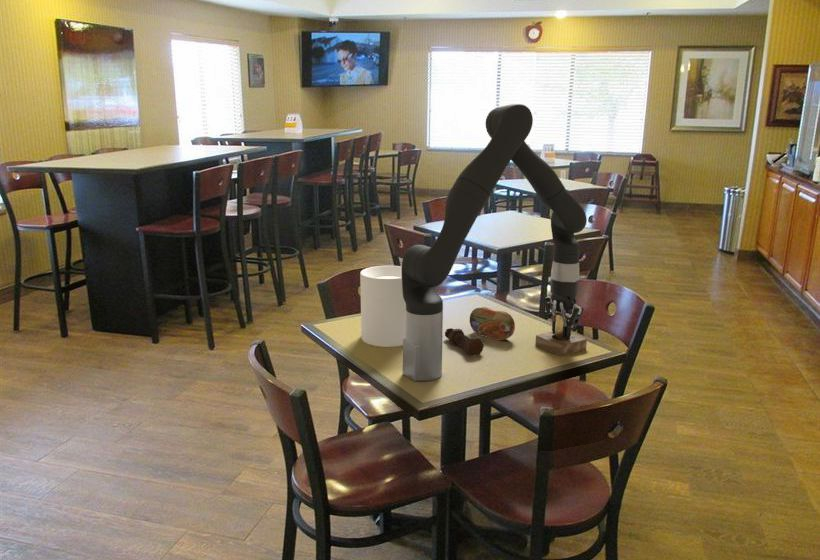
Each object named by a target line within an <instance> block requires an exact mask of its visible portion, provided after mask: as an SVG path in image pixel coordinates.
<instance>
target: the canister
mask: <svg viewBox="0 0 820 560" xmlns="http://www.w3.org/2000/svg"><path fill="white" fill-rule="evenodd" d="M359 276H360V277H359V280H360V281H359V283H360V326H361V327H360V328H361V331H360V332H361V333H360V334H361V335H360V336H361V340H362V342H364V343H365V344H367V345H371V346H375V347H381V348H382V347H383V348H384V347H386V348H389V347H390V348H391V347H395V348H396V347H401V346H402V347H403V339H404V338H406V303H405V301H404V298H403V292H402V265H401V266H399V265H377V266H370V267H366V268H364V269H362V270H361V271H360V273H359Z"/></svg>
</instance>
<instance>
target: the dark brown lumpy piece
mask: <svg viewBox="0 0 820 560" xmlns="http://www.w3.org/2000/svg"><path fill="white" fill-rule="evenodd" d="M444 336H445V337H446V338H447V339H448V340H449V343H450V344H451V345H453V346H457V345H458V346H460V347H462V348H463V349H464V351H465V353H466V354H467V355H468V356H469V357H475V356H474V355H476V356H480V354H482V352H483V350H484V346H485V345H484V344H485V343H484V342H483V341H482V339H481V337H479V336H473V337H469V336H467V335H465V333H464V331H462V329H461V328H450V327H449V328H447V329H445V332H444Z"/></svg>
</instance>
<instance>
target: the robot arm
mask: <svg viewBox="0 0 820 560" xmlns="http://www.w3.org/2000/svg"><path fill="white" fill-rule="evenodd" d="M533 121H534V119H533V114H532V112H531V109H530V108H529V107H528V106H527V105H526V104H525V105H524V104H522V103H510V104H507V105H503V106H498V107H495V108H493V109H491V110H490V111H489V113H488V114H487V116H486V118H485V128H486V133H487V135H488V136H489V137H490V140H489V142H488V143H487V145H486V147H484V148H483V150H482V151H481V152H480V153H479V154H478V155H476V156H475V158H474V159H473V160H472V161H470V162H469V164H467V166H465V167H464V169H462V171H461V172H460V173H459V175H458V176H457V178H456V179H455V182H454V183H453V185H452V187H451V188H450V190H449V192H448V194H447V197H446V200H445V207H444V208H445V209H444V219H443V226H442V227H441V230H440V232H439V234H438V236H437V238H436V239H435V241H434V243H433V244H432V245H431V246H428V245H424V244H415V245H411V246H410V247H409V248H408V249H407V250H406V251H405V253H404V255H403V258H402V262H401V267H402V292H403V298H404V301H405V303H406V338H404V339H403V345H402V375H404V376H406V377H407V378H409V379H411V380H412V381H413V382H417V381H419V382H420V381H421V382H423V381H424V382H427V381H433V380H437V379H439V378H441V377H442V375H443V374H442V373H443V329H444V328H443V318H444V300H443V298H442V297H441V296H440V294H438V292H437V291H436V287H437V286H438V287H439V286H440V285H441V284H443V282H445V281H446V279H447V278H448V276H449V275H450V272H451V270H452V268H453V266H454V264H455V262H456V259H457V257H458V256H459V253H460V251H461V248H462V246H463V244H464V242H465V241H466V238H467V236H468V235H469V233H470V232H471V229H472V227H473V225H474V224H475V222H476V220H477V218H478V217H479V215H480V214H481V212H482V210H483V208H484V207H485V205H486V203H487V201H488V200H489V199H490V197H491V195H492V192H493V190H494V189H495V187H496V185H497V184H498V182H499V180H500V178H501V177H502V175H503V174H504V172H505V170H506V168H507V166H508V164H509V163H510V161H511V162H512V163H513V164H514V165H515V166H516V168H517V169H518V170H519V171H520V172H521V173H522V175H523V176H524V177H525V180H527V181H528V183H529V184H530V186H531V187H532V189H533V190H534V192H535V194H536V195H537V196H538V198H539V200H540V201H541V202H542V205H545V207H547V208H548V209H550V210H551V211H552V213H551V216H550V217H551V218H550V229H551V235H552V236H551V237H552V242H553V255H552V257H553V258H552V265H551V269H550V270H551V272H550V290H549V291H550V293H551V296H546V297H545V296H544V297H543V301H544V307H545V313H546V317H547V318H548V319H549V318H550V319H551V321H552V323H551V325H552V326H551V332H552V333H553V334H554V335H555V323H556V314H558V313H561V315H562V318H563V322H564V326H563V336H562V337H563V338H564V339H567V338H569V337H570V336H571V333H572V326H577V325H578V324H579V322H580V319H581V317H582V314H583V312H584V307H583V306H579V305H578V304H577V300H576V299H577V298H576V297H577V295H578V293H579V280H580V255H581V254H580V252H581V247H580V242H578V240H577V239H576V237H575V234H578V233H580V232H582V231H583V230H584V229H585V228H586V226H587V222H588V221H587V215H586V212H585V210H584V208H583V207H582V206H581V205H580V204H579V201H577V199H575V198H574V196H572V194H570V192H568V190H567V189H566V187H565V185H564V183H563V182H562V180H561V179H560V177H559V176H558V174H557V172H556V171H555V170H554V169H553V168H552V166H550V165H549V163H548V162H546V161H545V160H544V159H542V158H541V156H539V155H538V154H537V153H536V152H535V151H534V150H532V148H531V147H530V146H529V145H528V144H527V142H526V139H527V138H528V136H529V135H530V133H531V130H532V127H533V123H534V122H533ZM566 314H567V315H566ZM568 320H569V321H568Z"/></svg>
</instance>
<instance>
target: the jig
mask: <svg viewBox="0 0 820 560" xmlns="http://www.w3.org/2000/svg"><path fill="white" fill-rule="evenodd" d="M587 339H588V338H585V337H582V336H580V335H577V334H575V333H573V332H571V336H570V337H569V338H568V339H567V340H557V339H555V335H554V334H553V333H552V331H549V332H548V331H547V332H543V333H539V334H535V346H537V347H538V348H541V349H544V350H546V351H549V352H551V353H553V354H555V355H557V356H560V357H561V356H564V355H568V354H573V353H577V352H581V351H585V350H587V344H588V343H587V341H588V340H587Z"/></svg>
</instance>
